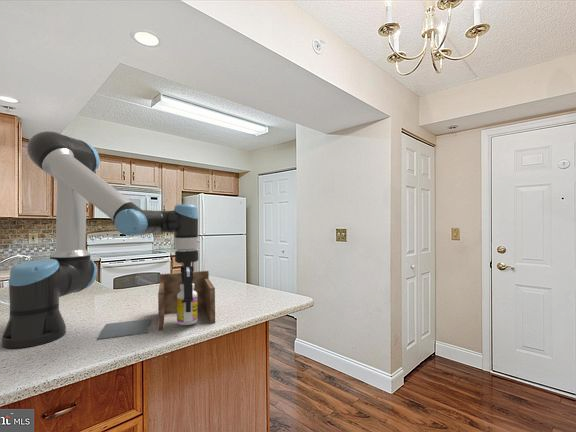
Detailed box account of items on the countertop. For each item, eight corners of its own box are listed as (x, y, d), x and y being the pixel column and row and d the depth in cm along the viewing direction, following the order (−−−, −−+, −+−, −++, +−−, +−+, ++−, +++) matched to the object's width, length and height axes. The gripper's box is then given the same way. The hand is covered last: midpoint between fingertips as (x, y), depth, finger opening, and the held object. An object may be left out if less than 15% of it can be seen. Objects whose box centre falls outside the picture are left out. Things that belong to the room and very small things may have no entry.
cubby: (158, 330, 99) (158, 284, 99) (160, 313, 117) (159, 274, 117) (215, 323, 106) (214, 279, 106) (208, 307, 124) (208, 270, 124)
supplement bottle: (191, 326, 100) (191, 286, 100) (173, 325, 101) (172, 286, 101) (201, 319, 106) (200, 282, 107) (183, 318, 108) (183, 282, 108)
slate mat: (96, 340, 92) (97, 338, 92) (106, 325, 105) (106, 323, 105) (148, 333, 97) (148, 331, 97) (150, 319, 110) (150, 318, 110)
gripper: (201, 252, 96) (202, 325, 96) (195, 247, 114) (196, 308, 114) (175, 253, 93) (176, 329, 93) (174, 248, 112) (174, 311, 112)
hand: (187, 317), depth 104 cm, fingers closed on supplement bottle, 7 cm apart
